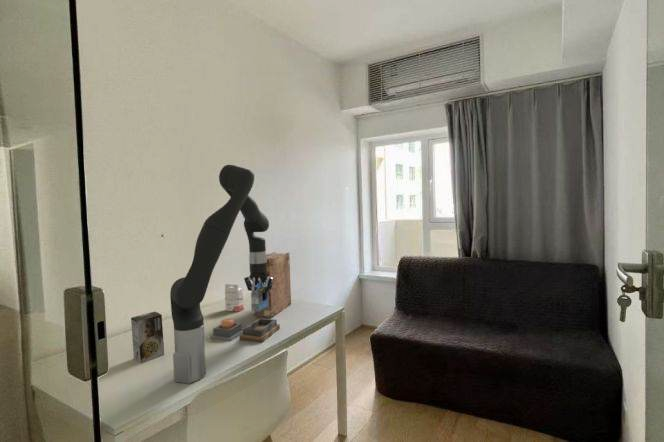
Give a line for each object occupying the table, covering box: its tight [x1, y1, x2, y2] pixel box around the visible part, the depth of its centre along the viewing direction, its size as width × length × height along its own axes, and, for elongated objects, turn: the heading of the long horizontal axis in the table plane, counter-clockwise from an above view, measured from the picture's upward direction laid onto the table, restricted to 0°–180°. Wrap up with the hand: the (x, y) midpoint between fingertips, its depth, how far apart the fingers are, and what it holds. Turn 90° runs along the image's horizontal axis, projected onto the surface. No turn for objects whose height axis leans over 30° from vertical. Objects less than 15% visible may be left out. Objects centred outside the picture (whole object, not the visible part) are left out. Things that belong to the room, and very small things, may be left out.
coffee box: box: [130, 311, 165, 364], centre depth 133 cm, size 9×6×16 cm
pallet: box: [239, 317, 281, 343], centre depth 154 cm, size 16×11×4 cm
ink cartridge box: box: [224, 284, 244, 313], centre depth 191 cm, size 9×5×15 cm, turn 73°
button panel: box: [209, 322, 243, 341], centre depth 154 cm, size 11×11×4 cm
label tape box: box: [250, 280, 268, 312], centre depth 153 cm, size 9×4×12 cm, turn 163°
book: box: [254, 251, 292, 319], centre depth 188 cm, size 25×9×30 cm, turn 163°
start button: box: [220, 317, 235, 329], centre depth 154 cm, size 5×5×4 cm
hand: (259, 300), depth 153 cm, fingers closed on label tape box, 4 cm apart
